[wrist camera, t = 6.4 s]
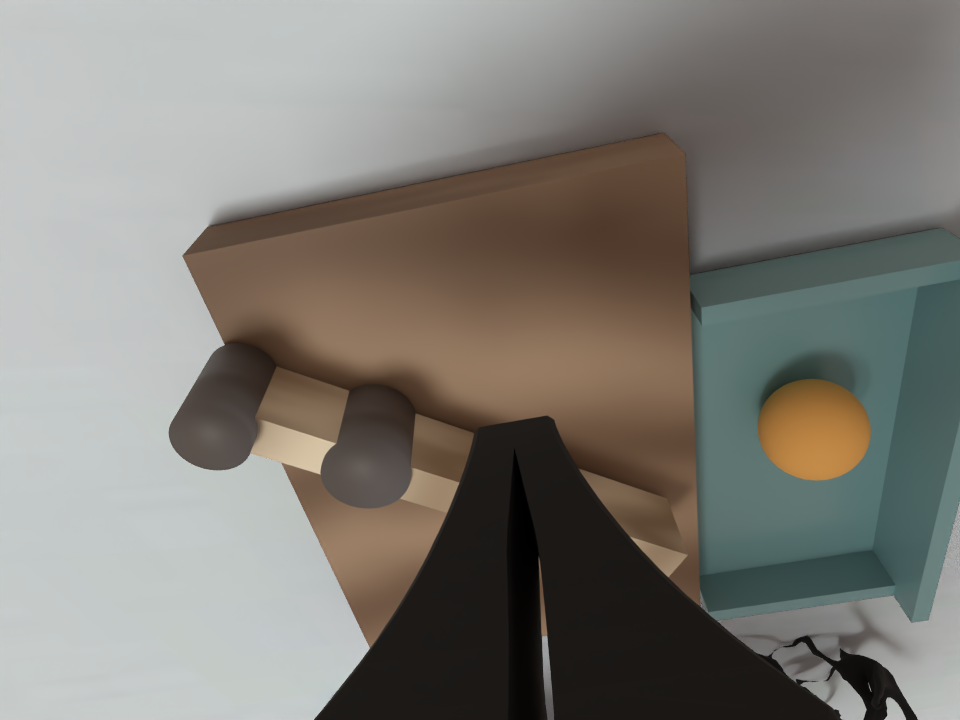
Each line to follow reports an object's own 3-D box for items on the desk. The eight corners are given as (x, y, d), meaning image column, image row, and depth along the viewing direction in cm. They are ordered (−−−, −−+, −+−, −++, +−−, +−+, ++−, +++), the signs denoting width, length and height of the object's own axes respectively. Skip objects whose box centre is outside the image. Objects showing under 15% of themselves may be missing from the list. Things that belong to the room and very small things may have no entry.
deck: (685, 571, 27) (700, 613, 26) (380, 617, 29) (375, 660, 27) (664, 132, 18) (685, 153, 16) (207, 227, 19) (182, 255, 17)
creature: (765, 703, 35) (925, 670, 31) (786, 822, 31) (973, 804, 27) (678, 639, 32) (843, 593, 28) (689, 763, 28) (884, 732, 24)
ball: (789, 481, 23) (866, 509, 20) (721, 442, 22) (790, 466, 19) (830, 398, 23) (912, 414, 20) (763, 357, 22) (838, 366, 19)
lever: (677, 486, 22) (705, 558, 19) (638, 533, 23) (660, 607, 21) (217, 327, 18) (178, 390, 16) (199, 393, 19) (160, 462, 17)
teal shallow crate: (881, 551, 27) (928, 620, 24) (693, 580, 28) (718, 649, 25) (941, 227, 20) (1018, 274, 17) (681, 276, 20) (715, 329, 18)
